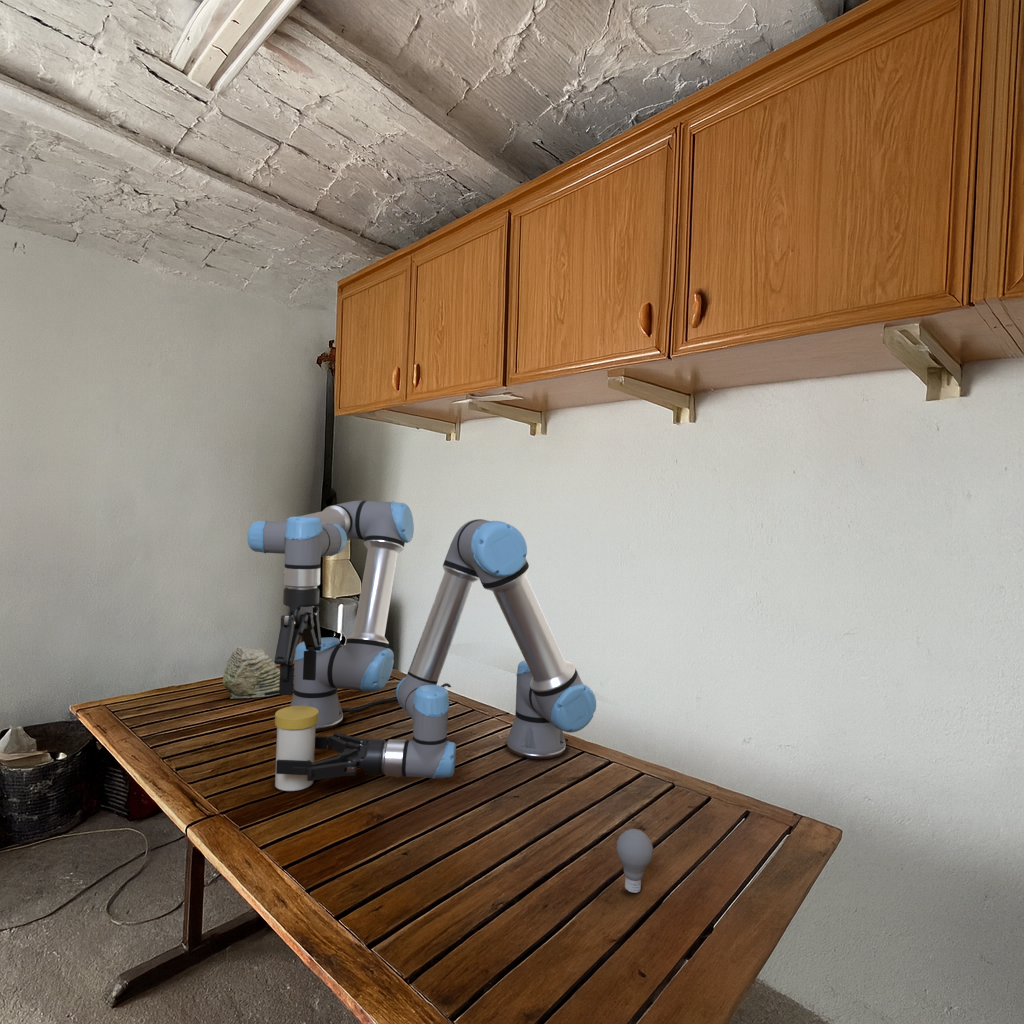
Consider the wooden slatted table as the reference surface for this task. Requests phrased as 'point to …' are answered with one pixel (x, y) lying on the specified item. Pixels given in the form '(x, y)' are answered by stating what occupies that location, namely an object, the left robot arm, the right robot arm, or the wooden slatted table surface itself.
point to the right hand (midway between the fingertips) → (288, 753)
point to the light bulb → (634, 857)
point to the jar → (294, 755)
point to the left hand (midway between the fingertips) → (298, 686)
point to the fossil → (251, 674)
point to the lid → (296, 717)
